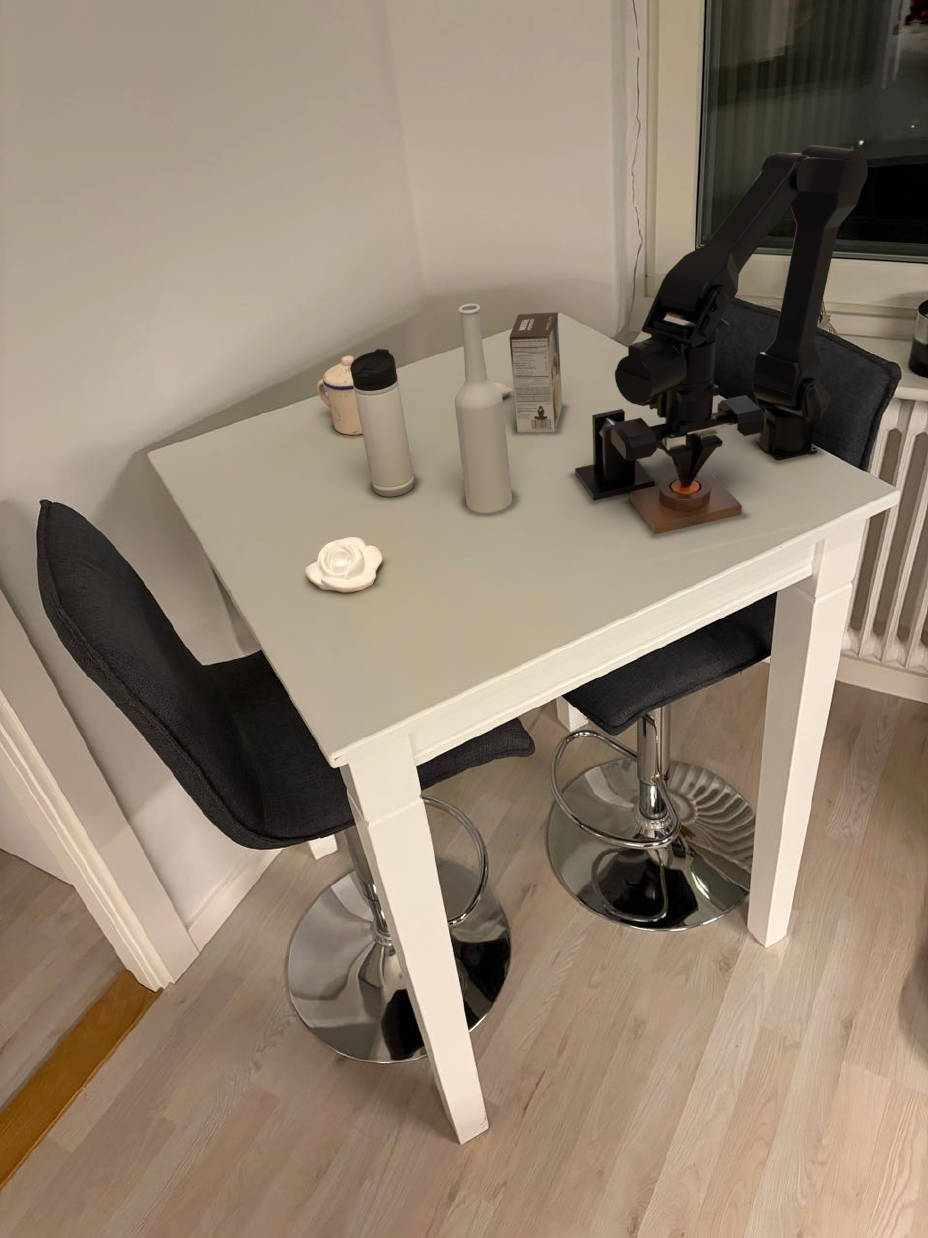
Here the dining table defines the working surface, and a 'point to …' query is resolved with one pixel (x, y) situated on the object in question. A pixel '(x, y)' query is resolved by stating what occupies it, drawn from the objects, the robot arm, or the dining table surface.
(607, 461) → the lever bracket
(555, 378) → the coffee box
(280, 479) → the dining table surface
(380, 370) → the travel mug
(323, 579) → the rose
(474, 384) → the bottle
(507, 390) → the macaroon
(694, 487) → the button
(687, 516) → the button block
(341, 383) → the teacup with lid
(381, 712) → the dining table surface
